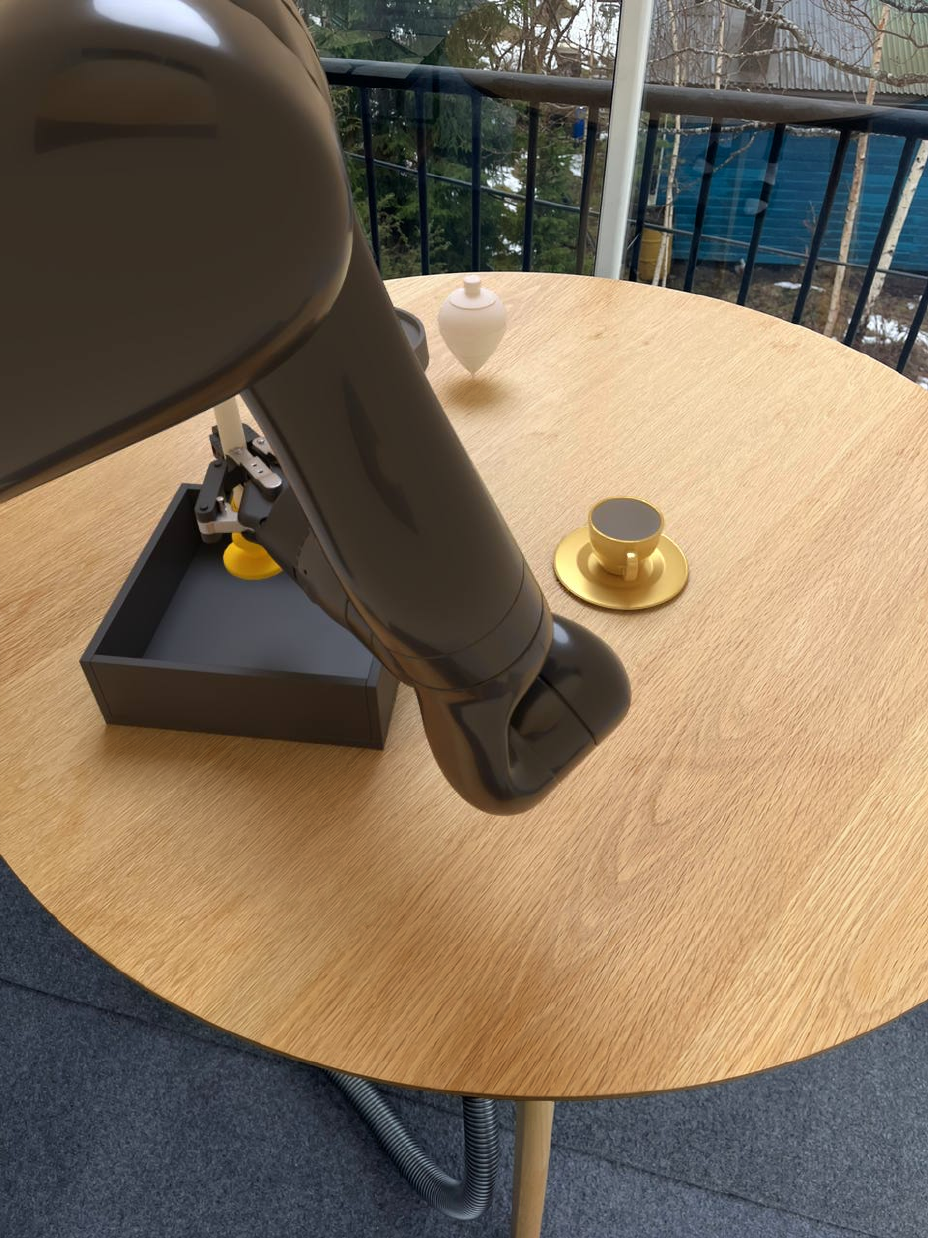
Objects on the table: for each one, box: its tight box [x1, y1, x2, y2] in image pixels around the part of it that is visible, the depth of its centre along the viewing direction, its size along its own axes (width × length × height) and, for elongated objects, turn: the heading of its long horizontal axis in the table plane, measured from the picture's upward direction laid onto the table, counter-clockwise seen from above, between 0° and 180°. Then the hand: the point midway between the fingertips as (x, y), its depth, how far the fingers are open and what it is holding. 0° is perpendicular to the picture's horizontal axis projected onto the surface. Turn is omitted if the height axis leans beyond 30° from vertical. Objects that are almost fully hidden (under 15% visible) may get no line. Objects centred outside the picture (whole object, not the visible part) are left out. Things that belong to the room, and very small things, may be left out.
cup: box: [552, 495, 690, 611], centre depth 82 cm, size 12×12×5 cm
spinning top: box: [437, 275, 509, 381], centre depth 104 cm, size 8×8×12 cm
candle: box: [212, 396, 283, 580], centre depth 66 cm, size 5×5×16 cm
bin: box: [78, 482, 401, 751], centre depth 76 cm, size 22×22×7 cm
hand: (223, 434), depth 67 cm, fingers closed
